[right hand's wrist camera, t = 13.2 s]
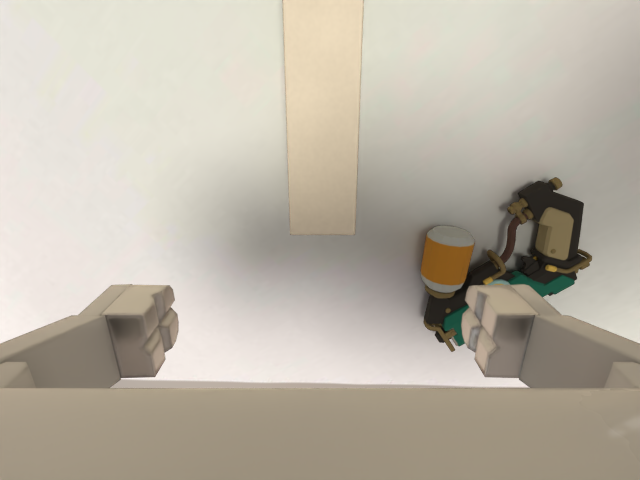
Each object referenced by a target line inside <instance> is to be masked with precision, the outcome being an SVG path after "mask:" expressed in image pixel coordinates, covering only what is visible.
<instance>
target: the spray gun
mask: <svg viewBox="0 0 640 480" xmlns="http://www.w3.org/2000/svg"><path fill="white" fill-rule="evenodd" d="M560 187H562V182H561V181H560V179H558V178H556V177H555V178H553V179H551V180H549V183H544V182H541V181H537V182H535V183H534V184H532V185H530V186H529V187H527V188H525V189H524V190H522V191H520V192H519V193H518V195H519V198H520V200H519V202H514V203H513V204H511V205H510V206H509V207H508V209H507V210H508V212H509V213H510V214H514V213H515V214H516V215H515V218H514V219H513V220H512V221H511V222H510V224H509V226H508V233H507V244H506V248H505V250H504V252H503V254H502V255H501V256H500V257H499V256H498V255H497V254H496V253H494V252H493V251H491V250H488V251H487V255H488V257H489V258H490V260H491V261H488V262H486V263H485V264H483V265H481V266H480V267H478V268H476V269H475V270H473V271H471V272H469V274H468V276H467V272H468V268H469V264H470V260H471V256H472V252H473V248H474V244H475V240H474V238H473V237H472V235H471V234H470V233H469V232H468V231H466V230H464V229H461V228H458V227H454V226H445V225H444V226H436V227H434V228H432V229H431V230H429V231H428V232H427V234H426V241H425V247H424V253H423V259H422V265H421V278H422V281H423V282H424V283H425V290H426V291H427V292H428V293H429V294H431V295H430V297H429V301H428V305H427V308H426V312H425V316H424V325H425V327H426V328H427V329H429V330H432V331H436V334H435V336H436V338H437V339H438V341H439V342H442V343H444V342H445V343H446V344H447V346H448V347H449V349H450V350H451V352H453V351H455V349H454V347H453V345H452V344H451V342H450V341H449V339H451V338H452V340H453V341H454V343H455V344H456V346H461V345H463V344H465V342H464V339H463V336H462V327H461V323H462V315H463V313H464V312H465V311H466V310H467V309H468V308H469V305H468V304H467V302H466V301H465V297H466V292H467V290H468V287H469V286H473V285H518V284H525V285H529V286H530V287H531V288H532V289H534V290H535V291H536V292H537V293H538V294H539V295H540V296H541V297H544V296H546V295H547V294H548V295H549V296H551V295H552V294H557V293H559V292H560V291H562V290H564V289H566V288H568V287H569V286H571V285H573V284H574V281H575V280H576V279H577V276H576V273H578V269H581V270H583V269H584V268H586V267H588V266H589V265H590V264H589V262H591V261H592V256H591V255H590V254H588V253H587V252H585V251H582V250H580V249H578V244H579V237H580V230H581V222H582V214H583V206H584V203H583V202H580V201H578V200H575V199H573V198H570V197H567V196H564V195H561V194H558V193H555V192H553V190H557V189H559V188H560ZM522 207H524V208H525V209H524V210H523V213H521V209H522ZM527 219H532V220H533V221H535V222H537V223H539V228H538V233H537V239H536V244H535V245H536V249H533V250H531V254H533V255H534V257H533V258H532V257H528V256H522V257H521V259H522V260H523V261H524V266H523V268H522V269H521V271H522V272H523V273H521V272H519V271H514V272H512V273H509V272H506V267H505V265H504V263H505V262H506V261H507V260H508V259H509V258H510V256H511V254H512V252H513V249H514V245H515V240H516V229H517V226H518V225H519V224H524V223H525V222H527ZM577 253H579V254H581V255H583V256H585V257H586V258H587V259H586V258H585V257H583V256H581V255H579V254H577ZM499 267H500V269H499ZM466 276H467V278H466ZM434 325H435V327H434Z"/></svg>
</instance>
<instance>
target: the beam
mask: <svg viewBox="0 0 640 480" xmlns="http://www.w3.org/2000/svg"><path fill="white" fill-rule="evenodd" d="M363 5H364V0H283V30H284V61H285V92H286V123H287V153H288V184H289V215H290V235H355V223H356V196H357V169H358V141H359V114H360V87H361V60H362V32H363Z"/></svg>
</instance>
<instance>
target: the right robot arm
mask: <svg viewBox="0 0 640 480" xmlns="http://www.w3.org/2000/svg"><path fill="white" fill-rule="evenodd" d="M174 301H175V298H174V293H173V289H172V288H171V287H170V285H132V284H124V285H111V286H110V287H109V288H108V289H107V290H105V291H104V292H103V293H102V294H101V295H100V296H99V297H98V298H97V299H95V300H94V301H93V302H92V303H91V304H90V305H89V306H88V307H87V308H85V309H84V310H83V311H82V312H81V313H80V314H79V315H72V316H69V317H66V318H64V319H61V320H59V321H56V322H54V323H51V324H49V325H46V326H44V327H41V328H39V329H36V330H34V331H31V332H29V333H26V334H24V335H21V336H18V337H16V338H13V339H11V340H8V341H6V342H3V343H1V344H0V480H640V344H639V343H637V342H634V341H631V340H629V339H626V338H624V337H621V336H619V335H616V334H614V333H611V332H609V331H606V330H604V329H601V328H599V327H596V326H594V325H591V324H589V323H586V322H584V321H581V320H579V319H576V318H574V317H571V316H568V315H561V314H560V313H559V312H558V311H557V310H556V309H555V308H554V307H552V306H551V305H550V304H549V303H548V302H547V301H546V300H545V299H544V298H542V297H541V296H540V295H539V294H538V293H537V292H536V291H535V290H534V289H532V288H531V287H530V286H529V285H525V284H518V285H473V286H469V287H468V290H467V292H466V297H465V301H466V302H467V304H468V305H469V308H468V309H467V310H466V311H465V312H464V313H463V315H462V323H461V327H462V336H463V339H464V342H465V344H466V345H467V347H468V348H469V349H470V350H472V351H474V352H475V361H476V363H477V364H478V366H479V368H480V369H481V371H482V373H483V374H484V376H485V377H503V378H519V380H521V381H522V382H523V383H525V384H526V385H527V386H529V387H530V388H110V387H111V386H113V385H114V384H116V383H117V382H118V381H119V380H121V378H137V377H155V376H156V374H157V373H158V371H159V369H160V368H161V366H162V364H163V363H164V361H165V352H166V351H168V350H170V349H171V348H172V347H173V345H174V344H175V342H176V339H177V335H178V324H179V322H178V315H177V313H176V312H175V311H174V310H173V309H172V308H171V305H172V304H173V302H174Z"/></svg>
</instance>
